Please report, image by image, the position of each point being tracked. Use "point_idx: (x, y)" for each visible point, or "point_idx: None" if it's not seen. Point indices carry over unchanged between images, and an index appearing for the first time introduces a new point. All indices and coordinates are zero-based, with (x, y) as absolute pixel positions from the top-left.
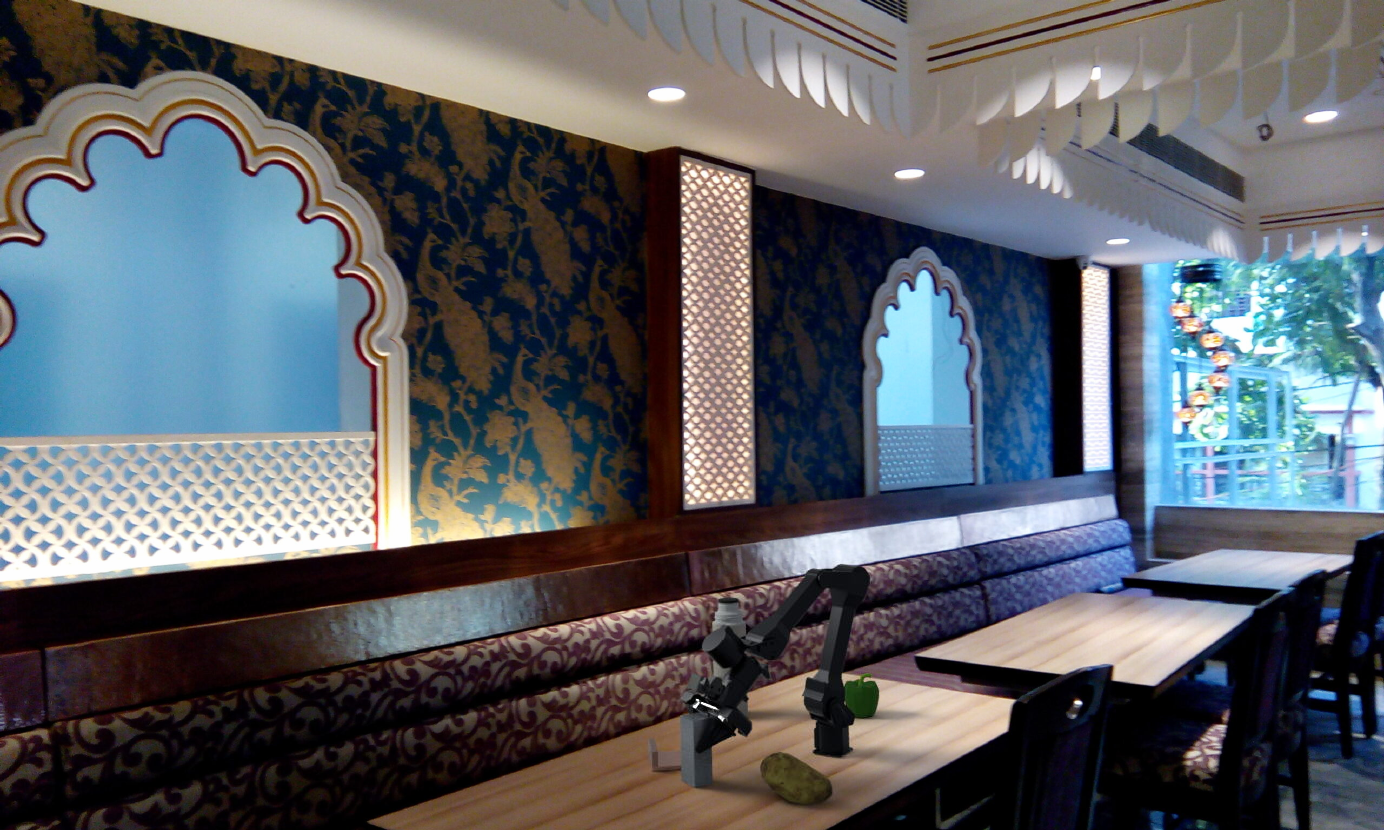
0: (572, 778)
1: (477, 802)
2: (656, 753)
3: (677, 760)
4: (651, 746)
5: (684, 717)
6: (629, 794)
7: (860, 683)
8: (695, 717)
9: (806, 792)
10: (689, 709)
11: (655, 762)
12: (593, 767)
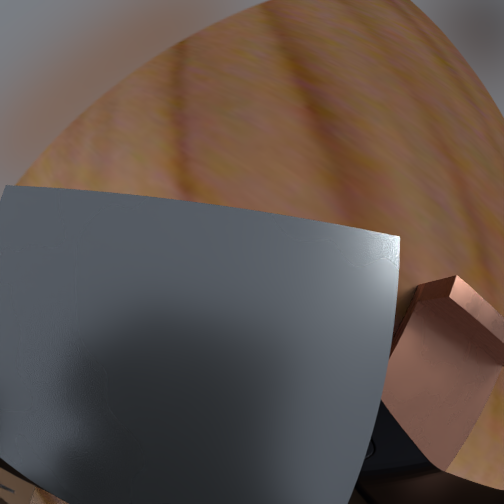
0: (451, 116)
1: (392, 6)
2: (446, 292)
3: (421, 390)
4: (494, 312)
5: (234, 210)
6: (283, 113)
7: None
8: (84, 359)
9: None
10: (472, 498)
11: (429, 291)
12: (495, 190)
